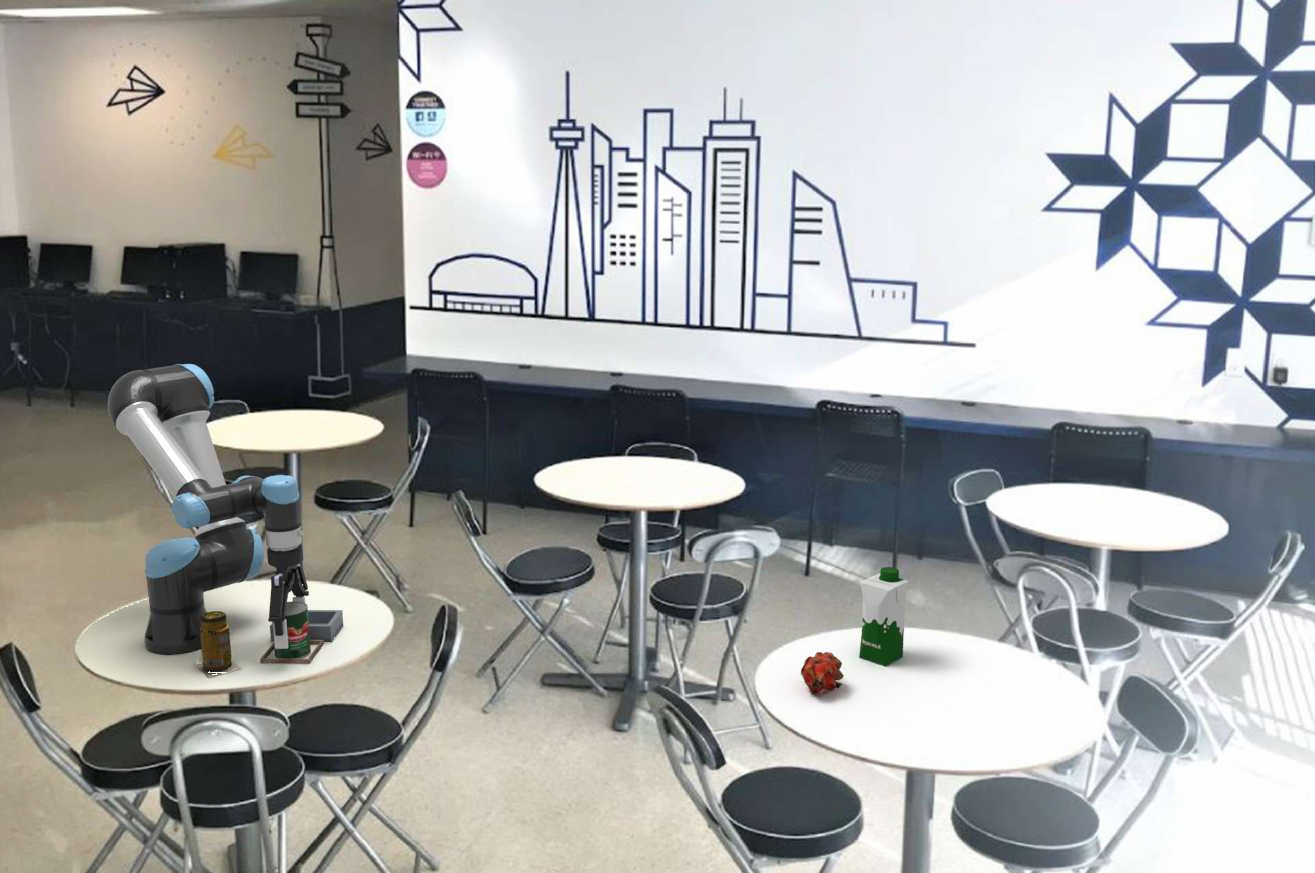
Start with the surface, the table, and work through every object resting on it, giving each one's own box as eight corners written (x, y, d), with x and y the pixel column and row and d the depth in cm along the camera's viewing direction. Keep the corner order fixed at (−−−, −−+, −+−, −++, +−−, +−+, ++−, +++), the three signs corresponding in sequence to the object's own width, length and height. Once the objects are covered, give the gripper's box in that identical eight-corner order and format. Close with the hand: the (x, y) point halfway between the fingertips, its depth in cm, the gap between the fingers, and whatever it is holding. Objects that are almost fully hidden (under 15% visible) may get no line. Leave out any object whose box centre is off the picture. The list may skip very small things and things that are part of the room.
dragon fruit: (830, 683, 264) (819, 715, 253) (798, 659, 264) (787, 690, 253) (854, 659, 260) (844, 690, 249) (822, 634, 260) (810, 664, 249)
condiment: (227, 657, 274) (223, 606, 271) (242, 669, 268) (237, 617, 265) (195, 665, 270) (190, 614, 267) (208, 678, 263) (203, 626, 260)
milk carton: (908, 656, 274) (912, 571, 269) (886, 669, 267) (890, 582, 262) (875, 646, 279) (878, 562, 275) (852, 657, 273) (856, 573, 268)
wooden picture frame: (260, 663, 271) (260, 659, 270) (276, 643, 281) (276, 639, 281) (309, 663, 270) (309, 659, 270) (324, 643, 281) (323, 639, 281)
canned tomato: (296, 662, 271) (292, 616, 268) (267, 657, 274) (263, 611, 271) (318, 649, 278) (314, 603, 275) (289, 644, 281) (285, 599, 278)
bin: (271, 642, 282) (269, 625, 281) (284, 625, 292) (283, 609, 291) (331, 642, 282) (330, 626, 281) (343, 625, 292) (342, 610, 291)
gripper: (283, 564, 258) (290, 658, 263) (318, 528, 282) (324, 614, 287) (248, 564, 258) (255, 658, 263) (285, 528, 282) (292, 614, 287)
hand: (291, 635), depth 275 cm, fingers open, 13 cm apart
